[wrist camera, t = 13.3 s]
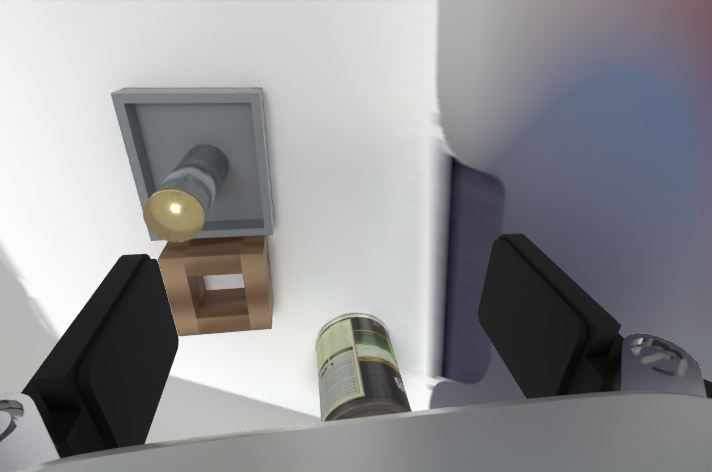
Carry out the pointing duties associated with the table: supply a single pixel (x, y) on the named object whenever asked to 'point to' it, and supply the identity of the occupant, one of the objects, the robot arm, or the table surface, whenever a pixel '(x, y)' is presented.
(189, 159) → the steel pin
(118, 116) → the tray
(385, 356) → the coffee can
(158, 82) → the table surface
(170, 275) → the block
